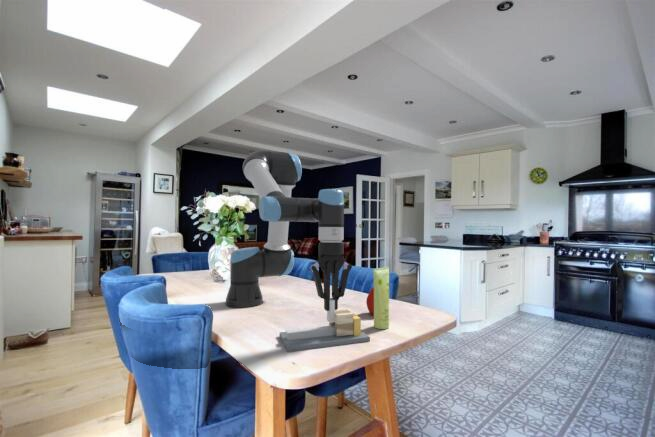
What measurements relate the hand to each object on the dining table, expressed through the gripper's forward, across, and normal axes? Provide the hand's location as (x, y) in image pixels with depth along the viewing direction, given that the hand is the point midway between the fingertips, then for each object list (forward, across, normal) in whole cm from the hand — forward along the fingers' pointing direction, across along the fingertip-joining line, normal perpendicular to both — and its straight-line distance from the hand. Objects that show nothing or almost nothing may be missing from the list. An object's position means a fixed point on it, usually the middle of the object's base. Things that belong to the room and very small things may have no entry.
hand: (330, 321), depth 93 cm
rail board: (+5, -2, 0) cm, 5 cm away
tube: (+5, +19, +4) cm, 20 cm away
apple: (+5, +25, +18) cm, 31 cm away
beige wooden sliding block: (+3, +3, 0) cm, 5 cm away
